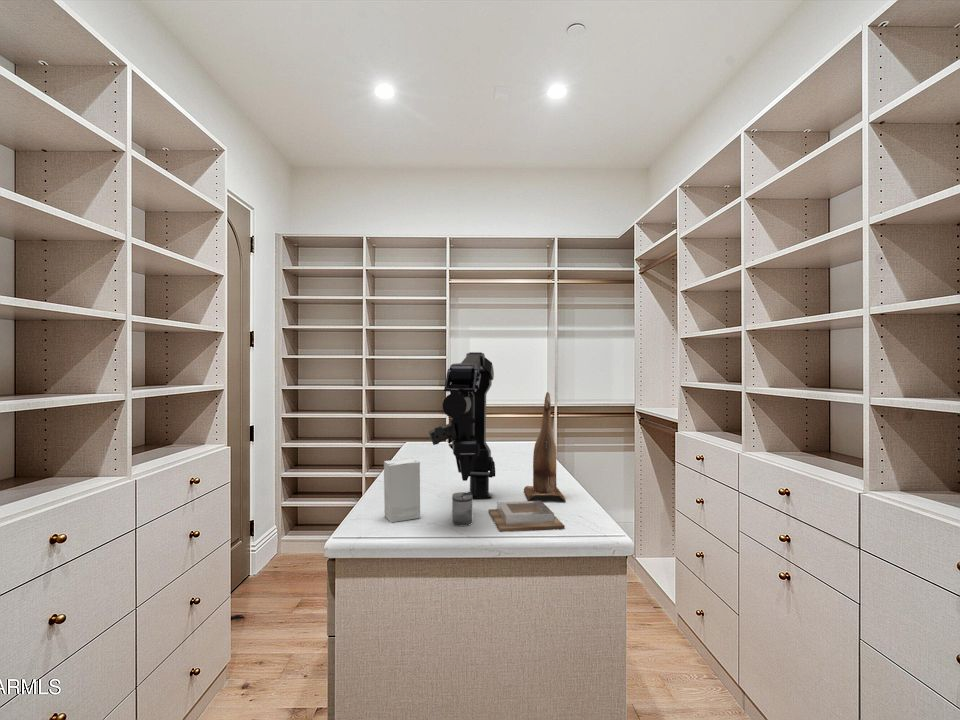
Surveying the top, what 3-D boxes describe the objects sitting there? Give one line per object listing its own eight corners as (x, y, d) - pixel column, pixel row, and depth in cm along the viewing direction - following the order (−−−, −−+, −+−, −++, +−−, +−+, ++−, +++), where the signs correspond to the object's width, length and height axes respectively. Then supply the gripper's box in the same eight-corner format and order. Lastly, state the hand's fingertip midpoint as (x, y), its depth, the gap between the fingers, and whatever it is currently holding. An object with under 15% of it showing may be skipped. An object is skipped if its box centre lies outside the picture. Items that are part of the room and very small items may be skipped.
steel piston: (451, 520, 126) (451, 492, 127) (470, 519, 127) (471, 492, 127) (452, 526, 121) (453, 497, 122) (473, 525, 122) (473, 497, 122)
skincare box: (413, 513, 133) (414, 457, 133) (421, 519, 127) (421, 461, 127) (382, 517, 129) (383, 459, 129) (389, 523, 124) (389, 463, 124)
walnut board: (488, 512, 133) (488, 509, 133) (546, 510, 136) (546, 507, 136) (499, 531, 118) (499, 528, 118) (564, 529, 120) (564, 525, 120)
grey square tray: (497, 511, 132) (497, 502, 132) (541, 509, 133) (541, 500, 134) (506, 525, 120) (506, 515, 120) (554, 523, 122) (554, 513, 122)
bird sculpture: (528, 504, 143) (530, 393, 142) (522, 492, 155) (524, 390, 154) (566, 504, 144) (568, 393, 143) (557, 492, 155) (559, 390, 155)
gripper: (429, 411, 133) (428, 469, 133) (432, 418, 114) (432, 486, 114) (470, 410, 134) (470, 468, 134) (480, 417, 116) (480, 484, 116)
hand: (462, 476), depth 125 cm, fingers open, 9 cm apart
